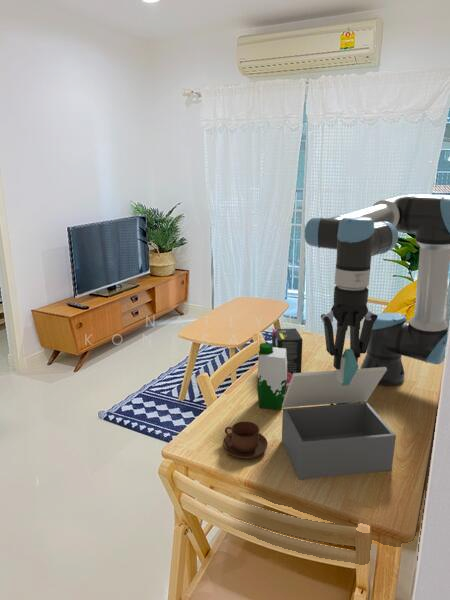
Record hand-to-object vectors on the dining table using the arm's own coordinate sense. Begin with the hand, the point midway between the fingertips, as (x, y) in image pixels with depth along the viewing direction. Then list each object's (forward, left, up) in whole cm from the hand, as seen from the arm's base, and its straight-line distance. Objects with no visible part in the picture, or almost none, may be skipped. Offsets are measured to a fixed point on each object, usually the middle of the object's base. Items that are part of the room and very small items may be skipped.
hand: (344, 380), depth 107 cm
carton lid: (0, -1, -4) cm, 5 cm away
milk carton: (+10, -31, -23) cm, 40 cm away
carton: (0, -3, -23) cm, 23 cm away
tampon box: (-1, -54, -23) cm, 59 cm away
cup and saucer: (+23, -9, -24) cm, 34 cm away
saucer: (+5, -43, -24) cm, 49 cm away
